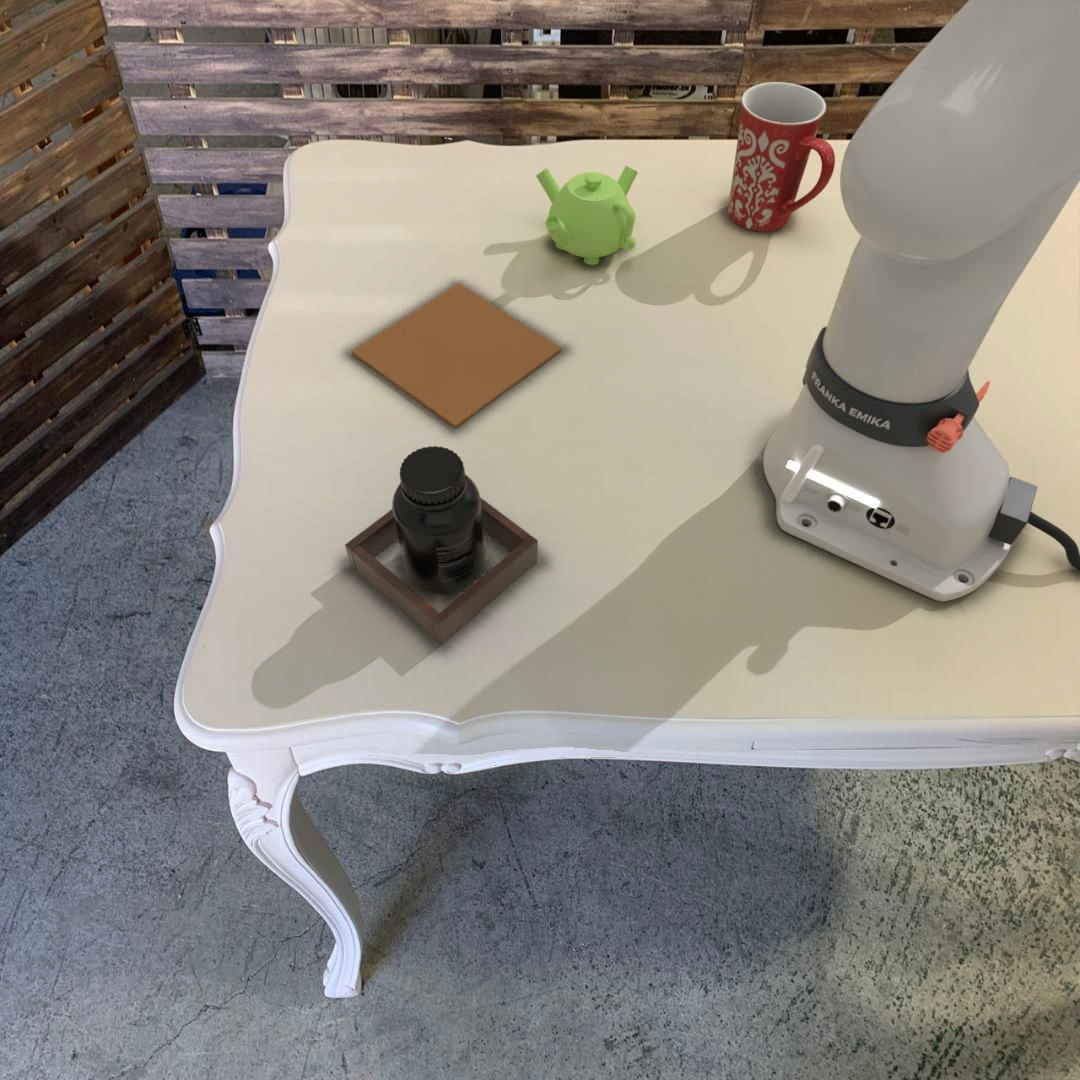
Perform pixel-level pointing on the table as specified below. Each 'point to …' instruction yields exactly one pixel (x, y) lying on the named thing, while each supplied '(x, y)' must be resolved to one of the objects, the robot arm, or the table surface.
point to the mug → (776, 154)
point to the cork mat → (456, 354)
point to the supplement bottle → (438, 521)
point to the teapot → (590, 213)
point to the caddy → (467, 603)
